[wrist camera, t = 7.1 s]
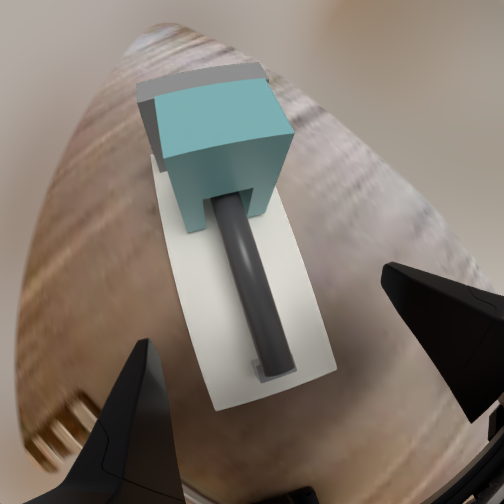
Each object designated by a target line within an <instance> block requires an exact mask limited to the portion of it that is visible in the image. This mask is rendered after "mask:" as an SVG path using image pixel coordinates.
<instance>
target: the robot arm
mask: <svg viewBox="0 0 504 504" xmlns="http://www.w3.org/2000/svg"><path fill="white" fill-rule="evenodd" d="M381 285H382V288H383V289H384V291H385V292H386V294H387V296H388V297H389V299H390V300H391V302H392V304H393V305H394V307H395V309H396V310H397V312H398V313H399V315H400V316H401V318H402V319H403V320H404V322H405V323H406V325H407V326H408V327H409V329H410V330H411V331H412V333H413V334H414V336H415V337H416V338H417V340H418V341H419V343H420V344H421V346H422V347H423V348H424V350H425V351H426V353H427V354H428V356H429V357H430V359H431V360H432V362H433V363H434V365H435V366H436V368H437V369H438V371H439V372H440V374H441V375H442V377H443V378H444V380H445V382H446V383H447V385H448V386H449V387H450V390H451V391H452V393H453V395H454V396H455V398H456V400H457V401H458V403H459V405H460V406H461V408H462V410H463V411H464V413H465V415H466V417H467V418H468V420H469V422H470V423H471V424H472V423H473V422H474V421H475V420H476V419H477V418H479V417H480V416H481V415H482V414H483V413H484V412H485V411H486V410H487V409H488V408H489V407H490V406H491V405H492V404H493V403H494V402H495V401H496V400H498V401H499V403H500V404H499V405H498V406H497V408H496V409H495V410H494V411H493V412H492V413H491V415H490V416H489V430H488V441H489V443H488V444H487V445H486V446H485V448H484V449H483V450H482V451H481V452H480V453H479V454H478V455H477V456H476V457H475V458H474V459H473V460H472V461H471V462H470V463H469V464H468V465H467V466H466V467H465V468H464V469H463V470H462V471H460V472H459V473H458V474H457V475H456V476H455V477H454V478H453V479H451V480H450V481H449V482H448V483H447V484H446V485H444V486H443V487H442V488H441V489H439V490H438V491H437V492H436V493H434V494H433V495H432V496H431V497H429V498H428V499H426V500H425V501H424V502H422V503H421V504H462V503H464V502H465V501H466V500H467V499H468V498H469V497H470V496H471V495H472V494H473V496H474V497H475V498H473V499H472V500H470V501H469V502H467V503H466V504H504V296H501V295H498V294H494V293H490V292H487V291H483V290H480V289H477V288H474V287H471V286H468V285H467V286H466V285H465V284H462V283H459V282H456V281H453V280H450V279H446V278H443V277H440V276H437V275H434V274H431V273H428V272H425V271H421V270H418V269H415V268H412V267H408V266H405V265H402V264H399V263H395V262H390V263H387V264H385V265H384V266H383V270H382V276H381ZM98 419H99V420H97V421H96V423H95V425H94V427H93V429H92V431H91V433H90V435H89V437H88V439H87V441H86V443H85V445H84V447H83V449H82V450H81V452H80V454H79V456H78V457H77V459H76V461H75V462H74V464H73V466H72V468H71V469H70V471H69V473H68V475H67V477H66V478H65V479H64V481H63V482H62V483H61V484H60V485H59V486H57V487H56V488H54V489H53V490H51V491H49V492H47V493H45V494H43V495H41V496H38V497H36V498H34V499H32V500H30V501H28V502H25V503H23V504H186V502H185V498H184V493H183V489H182V484H181V479H180V474H179V469H178V463H177V457H176V451H175V445H174V439H173V432H172V424H171V417H170V408H169V400H168V394H167V389H166V385H165V380H164V375H163V370H162V365H161V360H160V356H159V354H158V352H157V350H156V348H155V347H154V345H153V343H152V341H151V340H150V339H149V338H146V339H142V340H138V341H137V343H136V345H135V347H134V348H133V350H132V352H131V354H130V356H129V358H128V360H127V361H126V363H125V365H124V367H123V369H122V371H121V373H120V375H119V377H118V379H117V381H116V383H115V384H114V386H113V388H112V390H111V392H110V394H109V396H108V398H107V400H106V402H105V404H104V407H103V409H102V411H101V413H100V415H99V417H98ZM308 491H310V492H309V493H306V492H308ZM253 504H319V502H318V499H317V496H316V493H315V491H314V489H313V488H312V487H305V488H302V489H300V490H297V491H294V492H291V493H288V494H285V495H282V496H279V497H275V498H272V499H268V500H265V501H261V502H257V503H253Z"/></svg>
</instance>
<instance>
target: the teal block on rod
mask: <svg viewBox="0 0 504 504" xmlns="http://www.w3.org/2000/svg"><path fill="white" fill-rule="evenodd" d="M154 99H155V107H156V114H157V121H158V128H159V135H160V141H161V147H162V153H163V159H164V162H165V165H166V169H167V172H168V175H169V178H170V181H171V185H172V188H173V191H174V194H175V197H176V200H177V203H178V206H179V209H180V212H181V215H182V218H183V221H184V224H185V227H186V230H187V232H188V233H190V232H193V231H197V230H201V229H205V228H206V221H205V214H204V207H203V199H207V198H211V197H215V196H219V195H224V194H228V193H232V192H236V191H239V193H240V196H241V199H242V202H243V206H244V209H245V212H246V215H247V218H248V217H252V216H256V215H260V214H264V213H265V212H266V209H267V206H268V204H269V201H270V198H271V196H272V193H273V190H274V187H275V185H276V182H277V179H278V177H279V174H280V171H281V169H282V166H283V163H284V161H285V158H286V155H287V152H288V150H289V147H290V144H291V142H292V139H293V136H294V134H295V133H294V131H293V129H292V127H291V125H290V123H289V121H288V119H287V117H286V115H285V113H284V112H283V110H282V108H281V106H280V104H279V102H278V101H277V99H276V97H275V95H274V93H273V92H272V90H271V88H270V86H269V85H268V83H267V81H266V79H265V78H260V79H250V80H240V81H232V82H225V83H218V84H212V85H206V86H200V87H195V88H190V89H185V90H180V91H176V92H171V93H167V94H163V95H159V96H155V97H154Z"/></svg>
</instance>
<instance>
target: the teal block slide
mask: <svg viewBox="0 0 504 504" xmlns="http://www.w3.org/2000/svg"><path fill="white" fill-rule="evenodd" d="M260 78H265V79H266V81H267V83H269V78H268V76H267V75H266V73H265V71H264V70H263V68H262V67H261V65H260V63H259V62H255V63H243V64H233V65H225V66H217V67H210V68H204V69H198V70H192V71H187V72H182V73H177V74H173V75H168V76H164V77H160V78H156V79H152V80H148V81H144V82H141V83H137V84H136V88H137V104H138V107H139V110H140V114H141V117H142V120H143V123H144V126H145V129H146V133H147V136H148V139H149V142H150V145H151V148H152V151H153V154H151V161H152V168H153V175H154V181H155V187H156V193H157V199H158V204H159V209H160V215H161V220H162V225H163V230H164V235H165V239H166V244H167V249H168V253H169V258H170V262H171V266H172V270H173V274H174V279H175V283H176V287H177V290H178V294H179V298H180V302H181V306H182V309H183V313H184V316H185V320H186V323H187V327H188V330H189V334H190V337H191V340H192V344H193V347H194V350H195V353H196V356H197V360H198V363H199V366H200V369H201V372H202V375H203V378H204V381H205V384H206V386H207V389H208V392H209V395H210V398H211V400H212V403H213V406H214V409H215V411H219V410H223V409H227V408H230V407H234V406H238V405H241V404H245V403H248V402H251V401H255V400H258V399H261V398H264V397H267V396H270V395H273V394H276V393H279V392H282V391H285V390H287V389H290V388H293V387H296V386H298V385H301V384H303V383H306V382H309V381H311V380H314V379H316V378H318V377H321V376H323V375H326V374H328V373H330V372H333V371H335V370H337V366H336V362H335V359H334V356H333V352H332V349H331V346H330V342H329V339H328V336H327V333H326V329H325V326H324V323H323V320H322V317H321V314H320V310H319V307H318V304H317V301H316V298H315V295H314V292H313V289H312V286H311V283H310V280H309V277H308V274H307V271H306V268H305V265H304V263H303V260H302V257H301V254H300V251H299V248H298V246H297V243H296V240H295V237H294V234H293V232H292V229H291V226H290V223H289V221H288V218H287V215H286V213H285V210H284V207H283V205H282V202H281V199H280V197H279V194H278V192H277V189H276V187H274V190H273V193H272V196H271V198H270V201H269V204H268V206H267V209H266V212H265V213H264V214H260V215H256V216H252V217H248V218H247V215H246V212H245V209H244V206H243V202H242V199H241V196H240V193H239V191H236V192H232V193H228V194H224V195H219V196H215V197H211V198H207V199H203V207H204V214H205V221H206V228H205V229H201V230H197V231H193V232H190V233H188V232H187V230H186V227H185V224H184V221H183V218H182V215H181V212H180V209H179V206H178V203H177V200H176V197H175V194H174V191H173V188H172V185H171V181H170V178H169V175H168V172H167V169H166V165H165V162H164V159H163V153H162V147H161V141H160V135H159V128H158V121H157V114H156V107H155V99H154V97H155V96H159V95H163V94H167V93H171V92H176V91H180V90H185V89H190V88H195V87H200V86H206V85H212V84H218V83H225V82H232V81H240V80H250V79H260Z"/></svg>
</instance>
